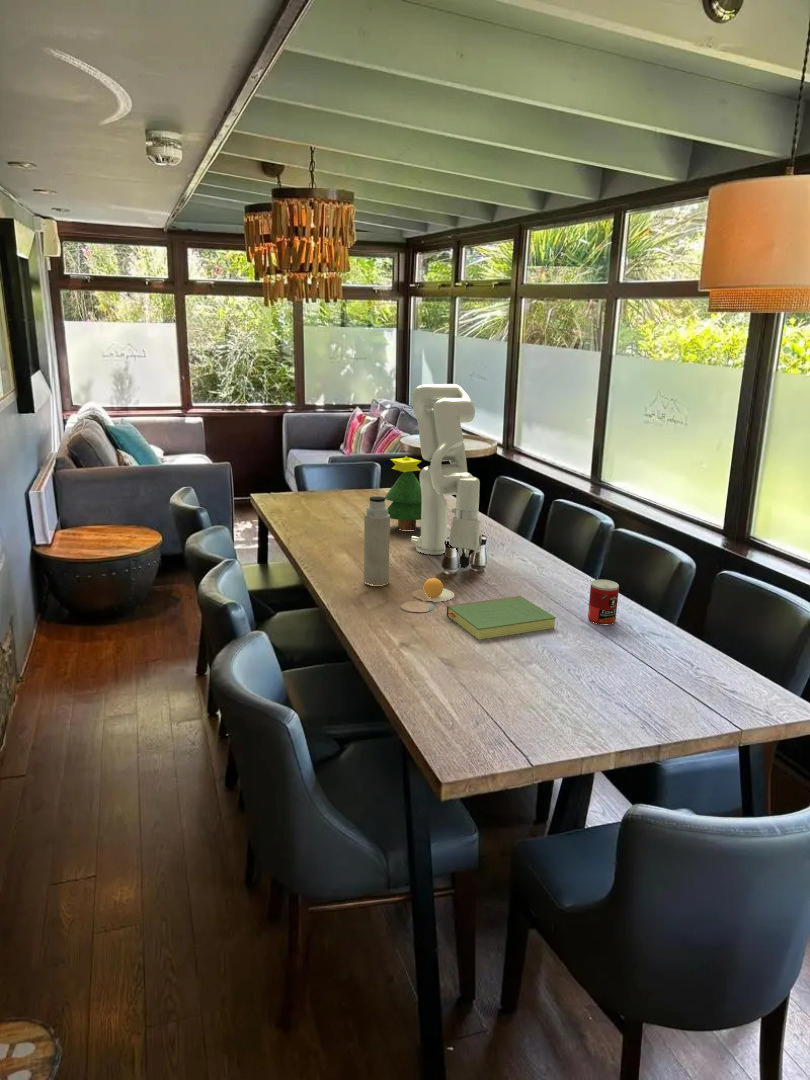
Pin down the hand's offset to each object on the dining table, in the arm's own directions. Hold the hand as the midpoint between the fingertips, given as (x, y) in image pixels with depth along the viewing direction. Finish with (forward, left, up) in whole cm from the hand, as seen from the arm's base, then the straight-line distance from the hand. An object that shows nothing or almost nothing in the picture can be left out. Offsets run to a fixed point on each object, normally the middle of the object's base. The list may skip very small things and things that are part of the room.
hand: (464, 566), depth 262 cm
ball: (+2, -29, +2) cm, 29 cm away
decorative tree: (-42, +39, -2) cm, 57 cm away
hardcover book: (+26, -38, -2) cm, 46 cm away
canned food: (+52, -22, -2) cm, 56 cm away
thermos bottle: (-20, -26, -2) cm, 33 cm away
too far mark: (+1, -39, -2) cm, 39 cm away
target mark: (+1, -27, -2) cm, 27 cm away
